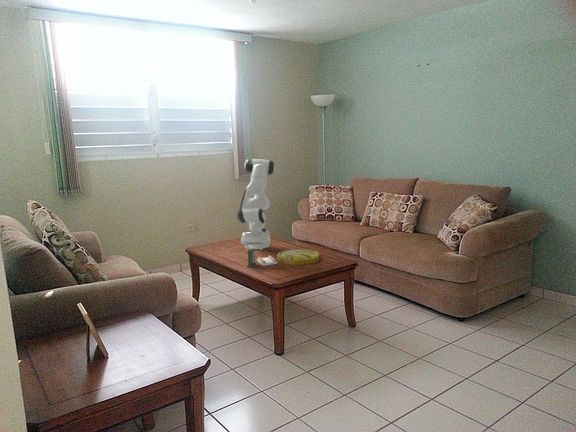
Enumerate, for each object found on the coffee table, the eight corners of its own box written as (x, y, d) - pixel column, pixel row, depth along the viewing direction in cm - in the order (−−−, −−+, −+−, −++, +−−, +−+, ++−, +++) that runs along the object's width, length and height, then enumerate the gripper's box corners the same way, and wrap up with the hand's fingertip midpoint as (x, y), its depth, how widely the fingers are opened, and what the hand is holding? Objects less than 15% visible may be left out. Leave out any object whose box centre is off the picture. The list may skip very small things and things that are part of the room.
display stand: (257, 260, 305) (256, 257, 305) (270, 259, 309) (270, 255, 309) (263, 265, 294) (262, 261, 293) (277, 263, 297) (277, 259, 297)
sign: (293, 247, 328) (327, 252, 310) (293, 251, 328) (327, 257, 310) (269, 256, 306) (304, 262, 288) (269, 260, 306) (304, 267, 288)
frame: (249, 264, 297) (249, 248, 295) (256, 264, 296) (255, 248, 294) (247, 267, 292) (246, 250, 290) (253, 267, 291) (253, 250, 289)
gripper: (241, 229, 303) (237, 246, 296) (270, 229, 299) (266, 247, 291) (244, 234, 308) (240, 251, 301) (272, 234, 304) (269, 252, 296)
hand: (253, 249), depth 296 cm, fingers open, 8 cm apart
